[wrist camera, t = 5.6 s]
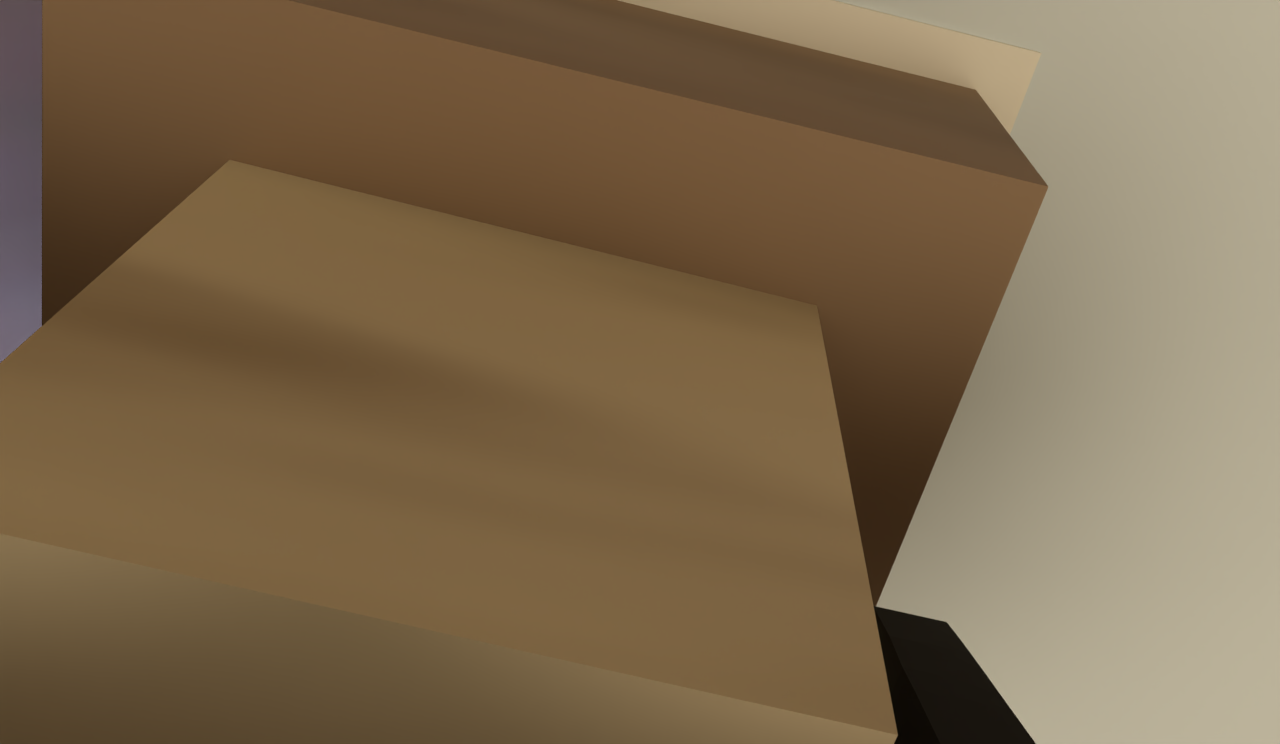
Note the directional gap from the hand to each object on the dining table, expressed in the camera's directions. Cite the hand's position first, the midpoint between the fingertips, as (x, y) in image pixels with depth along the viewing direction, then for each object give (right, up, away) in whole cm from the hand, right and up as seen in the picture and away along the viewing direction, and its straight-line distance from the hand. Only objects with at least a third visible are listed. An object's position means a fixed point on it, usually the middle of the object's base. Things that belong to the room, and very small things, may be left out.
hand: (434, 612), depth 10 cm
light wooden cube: (0, +1, +2) cm, 2 cm away
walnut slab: (0, +2, +4) cm, 5 cm away
